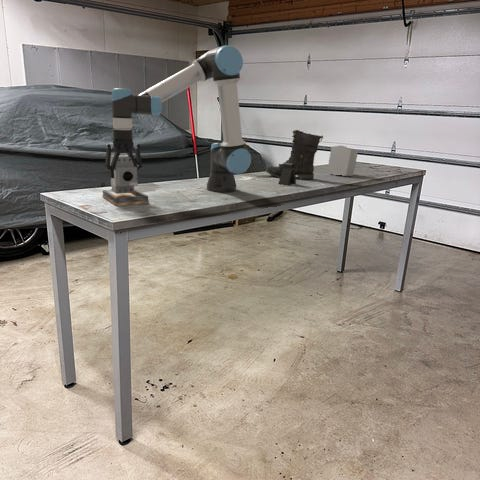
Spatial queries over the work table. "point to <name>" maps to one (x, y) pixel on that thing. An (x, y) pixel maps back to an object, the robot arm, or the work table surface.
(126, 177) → the circuit breaker
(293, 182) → the door stopper
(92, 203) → the work table surface
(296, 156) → the boot
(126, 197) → the track
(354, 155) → the electrical switch box
